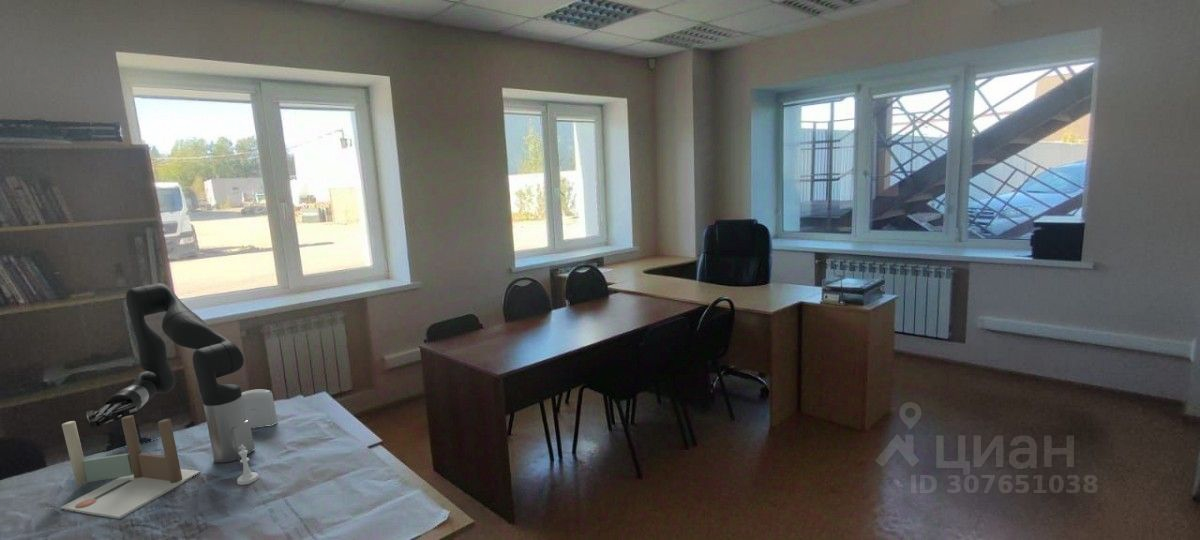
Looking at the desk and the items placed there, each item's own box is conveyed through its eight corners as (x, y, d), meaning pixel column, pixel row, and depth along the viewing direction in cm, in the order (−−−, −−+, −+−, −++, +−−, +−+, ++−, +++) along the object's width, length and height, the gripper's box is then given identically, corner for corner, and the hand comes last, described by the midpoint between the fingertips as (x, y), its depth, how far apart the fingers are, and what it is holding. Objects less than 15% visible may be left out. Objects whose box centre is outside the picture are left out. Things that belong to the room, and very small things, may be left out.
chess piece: (248, 485, 146) (242, 450, 144) (232, 484, 147) (226, 449, 145) (263, 475, 150) (257, 440, 149) (247, 474, 151) (241, 439, 150)
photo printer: (239, 431, 178) (233, 394, 176) (245, 425, 182) (239, 389, 180) (274, 427, 180) (268, 390, 177) (279, 421, 184) (273, 385, 181)
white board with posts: (200, 473, 153) (188, 413, 150) (119, 518, 134) (104, 451, 130) (145, 466, 158) (133, 408, 155) (60, 509, 139) (44, 444, 136)
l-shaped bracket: (135, 472, 153) (122, 414, 150) (130, 477, 151) (117, 418, 147) (80, 480, 150) (65, 421, 147) (73, 486, 147) (59, 426, 144)
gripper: (100, 392, 170) (62, 416, 153) (150, 386, 173) (118, 408, 156) (105, 415, 171) (68, 441, 154) (155, 409, 174) (124, 433, 158)
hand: (93, 425), depth 155 cm, fingers closed
